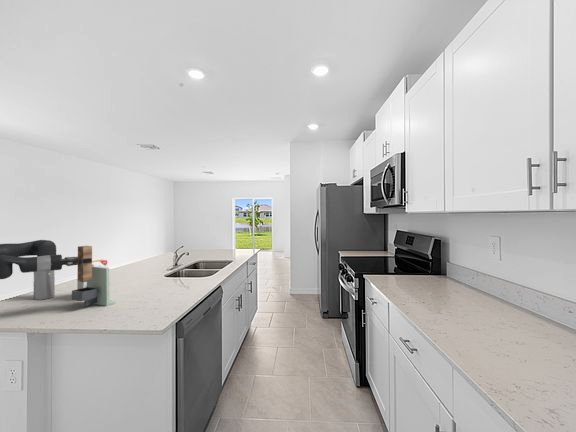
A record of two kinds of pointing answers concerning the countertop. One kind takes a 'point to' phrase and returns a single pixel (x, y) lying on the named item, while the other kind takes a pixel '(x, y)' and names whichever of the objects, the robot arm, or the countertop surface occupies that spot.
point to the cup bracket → (95, 289)
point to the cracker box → (94, 263)
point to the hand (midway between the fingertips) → (90, 259)
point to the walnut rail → (84, 264)
